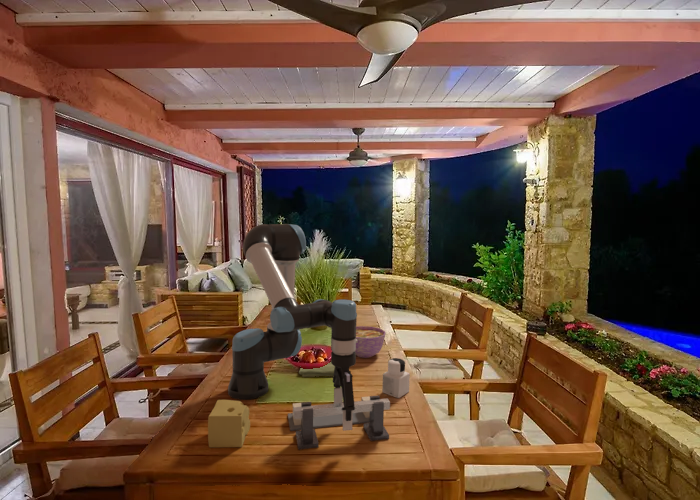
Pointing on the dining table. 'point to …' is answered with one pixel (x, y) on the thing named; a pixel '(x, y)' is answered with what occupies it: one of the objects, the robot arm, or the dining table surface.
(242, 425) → the cheese
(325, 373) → the washcloth
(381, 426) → the grey rack
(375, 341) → the bowl of food
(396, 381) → the container
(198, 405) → the dining table surface
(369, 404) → the rail
